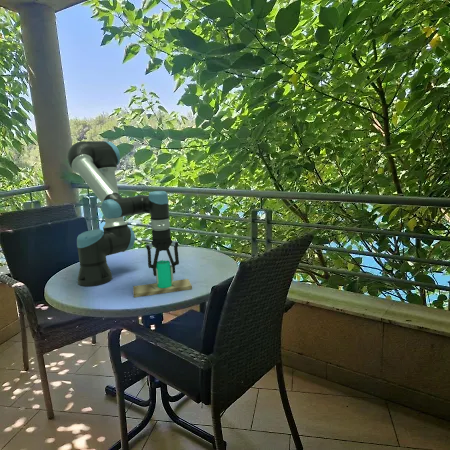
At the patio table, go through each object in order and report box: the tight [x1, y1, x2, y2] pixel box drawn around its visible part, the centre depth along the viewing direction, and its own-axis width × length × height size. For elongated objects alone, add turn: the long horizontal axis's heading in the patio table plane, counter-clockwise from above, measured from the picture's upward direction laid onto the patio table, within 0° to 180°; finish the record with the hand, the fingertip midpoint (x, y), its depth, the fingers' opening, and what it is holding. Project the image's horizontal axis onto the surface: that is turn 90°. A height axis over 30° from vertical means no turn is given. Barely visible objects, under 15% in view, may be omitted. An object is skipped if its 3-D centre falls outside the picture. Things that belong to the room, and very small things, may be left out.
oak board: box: [132, 278, 193, 298], centre depth 144 cm, size 24×9×2 cm, turn 106°
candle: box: [156, 259, 172, 288], centre depth 143 cm, size 6×6×12 cm
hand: (165, 281), depth 144 cm, fingers closed on candle, 5 cm apart
